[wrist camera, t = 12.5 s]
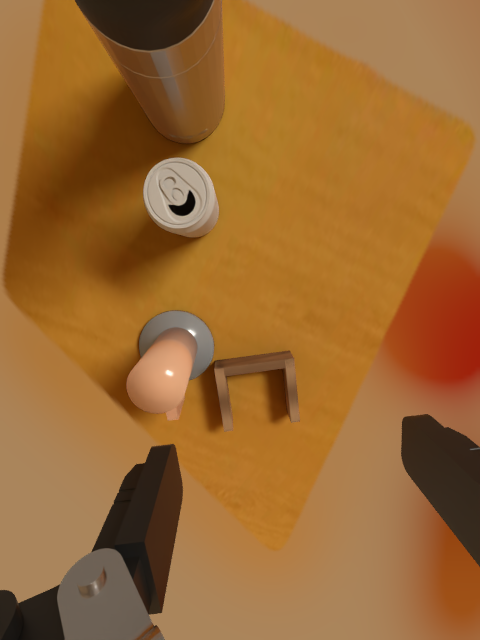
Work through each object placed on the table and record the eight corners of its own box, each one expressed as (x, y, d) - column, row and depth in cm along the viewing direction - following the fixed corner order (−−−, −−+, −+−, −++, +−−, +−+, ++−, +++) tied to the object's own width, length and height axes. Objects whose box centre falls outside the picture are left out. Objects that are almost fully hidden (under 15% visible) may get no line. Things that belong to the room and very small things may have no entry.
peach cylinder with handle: (151, 330, 40) (120, 364, 28) (193, 324, 40) (179, 355, 28) (164, 388, 42) (139, 442, 30) (204, 383, 42) (194, 435, 30)
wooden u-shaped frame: (215, 360, 42) (214, 369, 39) (289, 350, 42) (294, 358, 39) (224, 419, 44) (224, 431, 41) (295, 409, 44) (299, 421, 41)
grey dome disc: (133, 315, 40) (131, 316, 40) (208, 305, 40) (207, 306, 40) (148, 384, 43) (147, 386, 42) (218, 375, 43) (218, 376, 42)
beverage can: (187, 247, 38) (168, 247, 27) (156, 202, 37) (123, 181, 25) (229, 219, 38) (228, 206, 26) (199, 172, 36) (185, 136, 25)
